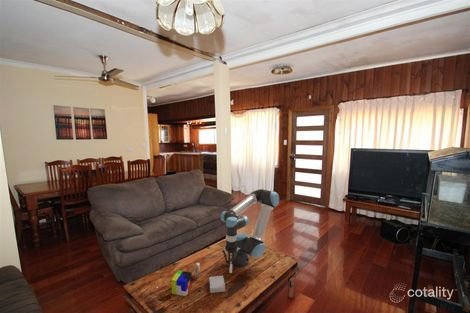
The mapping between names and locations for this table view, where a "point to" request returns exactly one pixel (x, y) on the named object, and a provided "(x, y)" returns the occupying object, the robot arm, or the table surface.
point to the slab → (216, 284)
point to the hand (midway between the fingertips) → (230, 271)
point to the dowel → (197, 270)
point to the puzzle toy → (181, 283)
